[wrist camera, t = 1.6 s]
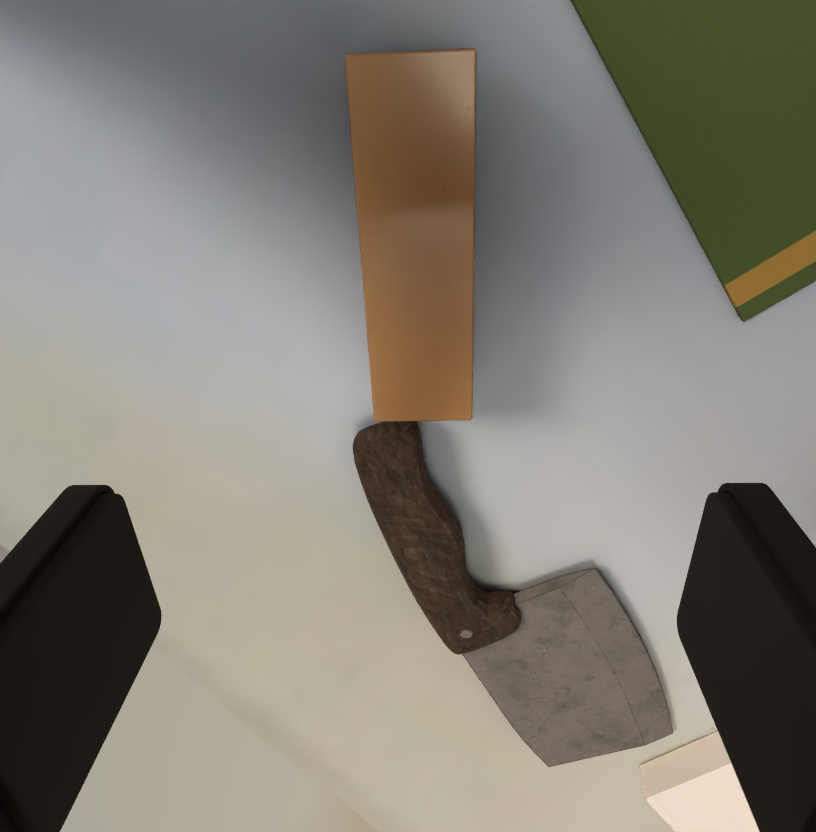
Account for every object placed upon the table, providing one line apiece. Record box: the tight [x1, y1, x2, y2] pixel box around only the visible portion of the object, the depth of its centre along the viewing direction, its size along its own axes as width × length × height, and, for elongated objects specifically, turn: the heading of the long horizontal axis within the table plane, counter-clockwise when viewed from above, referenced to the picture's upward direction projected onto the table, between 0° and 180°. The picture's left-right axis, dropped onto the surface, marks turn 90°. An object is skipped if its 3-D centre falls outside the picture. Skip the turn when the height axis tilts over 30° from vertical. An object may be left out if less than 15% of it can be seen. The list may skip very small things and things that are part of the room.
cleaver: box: [353, 421, 673, 767], centre depth 34 cm, size 29×10×2 cm, turn 29°
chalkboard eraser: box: [345, 48, 477, 422], centre depth 23 cm, size 4×13×4 cm, turn 2°
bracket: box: [640, 731, 759, 832], centre depth 38 cm, size 13×7×8 cm, turn 134°
